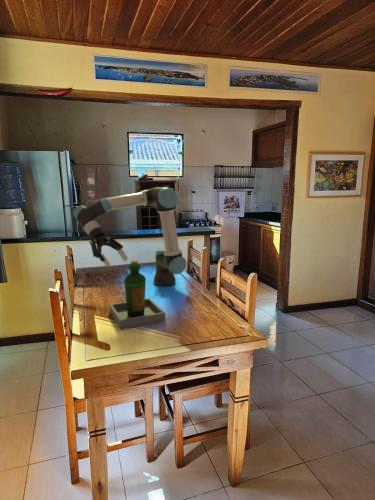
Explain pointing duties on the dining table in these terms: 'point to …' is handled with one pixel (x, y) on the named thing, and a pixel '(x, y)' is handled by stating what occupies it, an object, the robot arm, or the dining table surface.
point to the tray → (124, 321)
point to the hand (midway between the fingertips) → (117, 262)
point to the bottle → (135, 291)
